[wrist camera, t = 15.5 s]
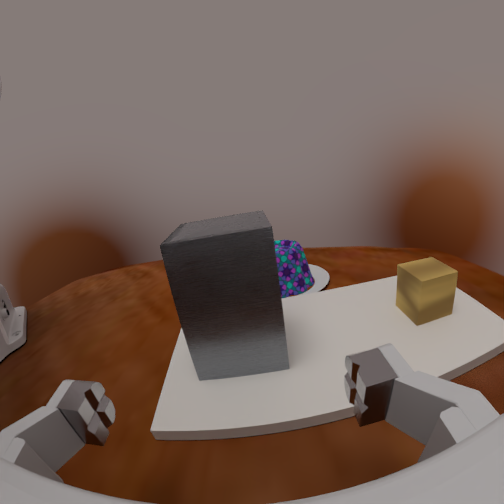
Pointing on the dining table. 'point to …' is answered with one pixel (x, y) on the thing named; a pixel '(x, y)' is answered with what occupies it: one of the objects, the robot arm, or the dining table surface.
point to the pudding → (297, 270)
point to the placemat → (322, 363)
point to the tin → (228, 295)
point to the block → (425, 290)
